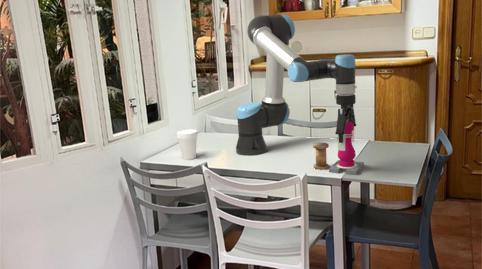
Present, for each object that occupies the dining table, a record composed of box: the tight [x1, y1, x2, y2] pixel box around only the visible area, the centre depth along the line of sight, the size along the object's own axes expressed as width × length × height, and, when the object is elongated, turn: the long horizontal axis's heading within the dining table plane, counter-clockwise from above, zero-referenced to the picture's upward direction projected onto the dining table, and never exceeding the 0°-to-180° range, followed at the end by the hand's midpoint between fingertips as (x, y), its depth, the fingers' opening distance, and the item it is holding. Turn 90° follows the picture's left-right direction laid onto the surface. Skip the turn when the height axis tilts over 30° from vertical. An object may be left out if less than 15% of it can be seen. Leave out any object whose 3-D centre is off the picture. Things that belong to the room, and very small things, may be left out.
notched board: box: [328, 159, 365, 176], centre depth 190 cm, size 11×13×2 cm
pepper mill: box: [337, 119, 357, 167], centre depth 188 cm, size 7×7×20 cm
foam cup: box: [176, 129, 198, 161], centre depth 221 cm, size 10×9×13 cm
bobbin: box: [312, 142, 330, 171], centre depth 193 cm, size 6×6×10 cm
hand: (346, 146), depth 188 cm, fingers open, 13 cm apart
